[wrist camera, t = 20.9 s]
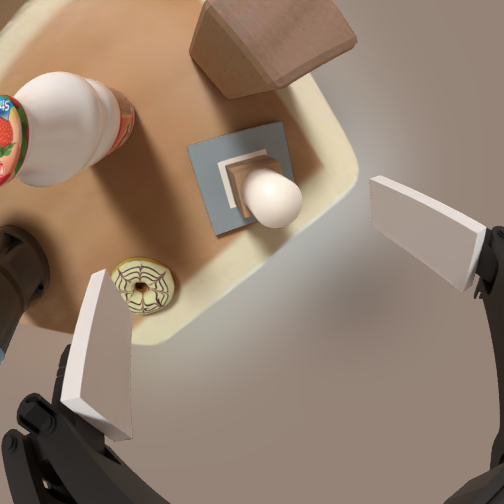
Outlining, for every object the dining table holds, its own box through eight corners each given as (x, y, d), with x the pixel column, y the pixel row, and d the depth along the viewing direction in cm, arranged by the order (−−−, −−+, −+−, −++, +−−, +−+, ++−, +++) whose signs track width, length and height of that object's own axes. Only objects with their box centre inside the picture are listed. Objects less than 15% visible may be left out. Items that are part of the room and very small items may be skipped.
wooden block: (282, 67, 34) (365, 43, 17) (227, 102, 35) (279, 93, 18) (243, 17, 29) (302, -43, 12) (185, 52, 30) (200, -3, 13)
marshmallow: (246, 216, 36) (260, 235, 31) (234, 175, 33) (247, 188, 28) (286, 202, 36) (306, 218, 31) (277, 162, 33) (297, 172, 28)
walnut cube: (234, 203, 41) (244, 218, 36) (224, 165, 38) (233, 174, 33) (272, 192, 42) (287, 204, 37) (264, 154, 39) (279, 161, 33)
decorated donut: (172, 305, 48) (173, 319, 45) (114, 303, 45) (112, 317, 42) (175, 254, 44) (176, 266, 41) (110, 251, 41) (106, 263, 37)
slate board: (213, 231, 44) (215, 235, 42) (186, 146, 37) (187, 147, 35) (295, 204, 45) (299, 207, 44) (278, 121, 38) (282, 121, 37)
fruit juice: (136, 84, 30) (64, 26, 7) (136, 149, 35) (70, 221, 11) (73, 95, 28) (-64, 89, 4) (76, 158, 32) (-48, 242, 9)
